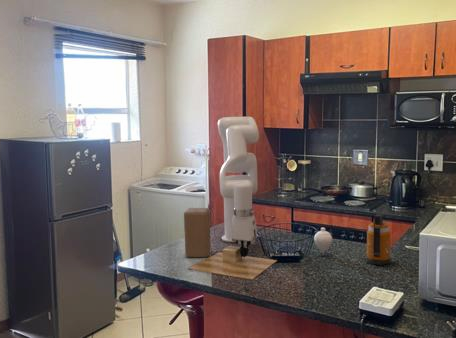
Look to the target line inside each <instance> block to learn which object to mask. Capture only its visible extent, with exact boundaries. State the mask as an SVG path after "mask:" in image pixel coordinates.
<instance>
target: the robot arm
mask: <svg viewBox="0 0 456 338" xmlns="http://www.w3.org/2000/svg"><path fill="white" fill-rule="evenodd" d="M217 130H218V134H219V137H220V139H221V141H222V146H223V150H222V151H223V165H222V166H221V168H220V170H219V171H220V172H219V178H218V179H219V192H220V195H221V197H222V198H223V219H224V220H223V221H224V234H223V235H222V236H221V240H222V241H223V242H226V243H236V244H237V245H238V247H240V254H241V257H246V256H248V255H249V246H250V245H254V244H256V243H257V238H258V229H257V221H256V218H255V215H256V211H255V210H254V209H253V195H255V194H256V193H257V192H258V187H259V184H258V161H257V157H256V155H255V154H254V153H253V152H248V149H247V148H248V147H247V144H256V143H258V142H259V140H260V139H259V138H260V133H259V127H258V125H257V122H256V120H255V118H254V117H252V116H225V117H221V118H219V119H218V122H217ZM227 173H233V174H234V173H236V174H235V175H227ZM237 173H246V174H237Z"/></svg>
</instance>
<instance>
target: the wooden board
mask: <svg viewBox="0 0 456 338" xmlns="http://www.w3.org/2000/svg"><path fill="white" fill-rule="evenodd" d="M276 262H278V260H277V259H272V258H271V259H270V258H263V257H255V256H250V255H249V256H248V255H247V256H246V257H242V259H241V260H239V261H238V262H236V263H233V262H226V261H223V252H221V251H219V252H217V253H215V254H213V255H211V256H210V257H209V256H208V257H207V258H206V259H204V260H202V261H200V262H198V263H197V264H195V265H193V266H191V267H189V268H188V270H193V271H200V272H205V273H210V274H216V275H222V276H227V277H233V278H234V277H235V278H241V279H247V280H254V279H255V278H256V277H258V276H259V275H260V274H261V273H263V272H264V271H265V270H267V269H268V268H270V267H271V266H272V265H273V264H274V263H276Z"/></svg>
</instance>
